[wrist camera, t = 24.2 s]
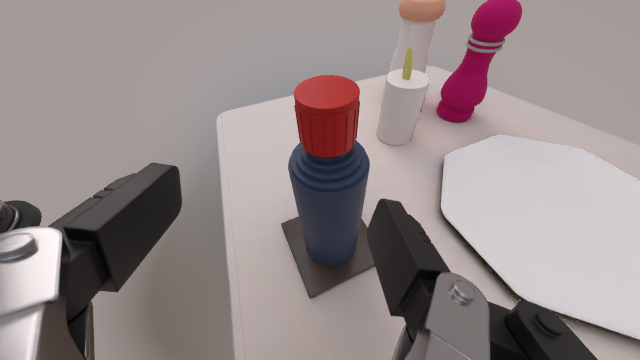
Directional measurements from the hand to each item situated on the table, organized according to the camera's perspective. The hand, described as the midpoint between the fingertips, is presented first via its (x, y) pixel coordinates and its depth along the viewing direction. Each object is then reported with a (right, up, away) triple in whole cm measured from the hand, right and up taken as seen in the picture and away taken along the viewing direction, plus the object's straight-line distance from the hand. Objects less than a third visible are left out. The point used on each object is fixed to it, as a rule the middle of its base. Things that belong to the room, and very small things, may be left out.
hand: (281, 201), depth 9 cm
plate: (+32, -4, +21) cm, 39 cm away
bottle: (+3, -7, +19) cm, 21 cm away
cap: (+2, +4, +7) cm, 8 cm away
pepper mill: (+28, +14, +37) cm, 48 cm away
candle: (+15, +9, +33) cm, 38 cm away
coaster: (+3, -7, +20) cm, 21 cm away
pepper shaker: (+19, +18, +41) cm, 48 cm away
